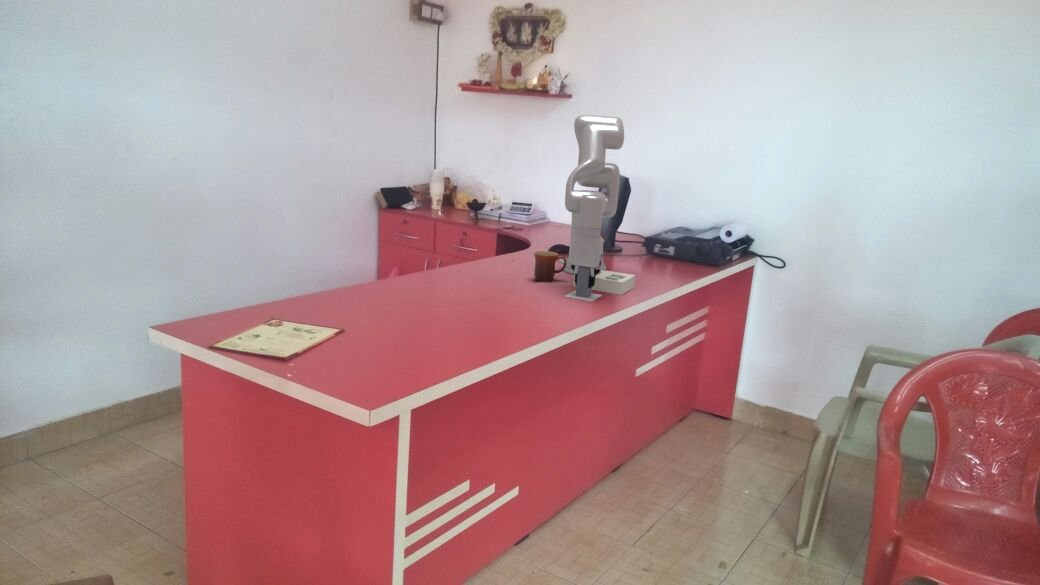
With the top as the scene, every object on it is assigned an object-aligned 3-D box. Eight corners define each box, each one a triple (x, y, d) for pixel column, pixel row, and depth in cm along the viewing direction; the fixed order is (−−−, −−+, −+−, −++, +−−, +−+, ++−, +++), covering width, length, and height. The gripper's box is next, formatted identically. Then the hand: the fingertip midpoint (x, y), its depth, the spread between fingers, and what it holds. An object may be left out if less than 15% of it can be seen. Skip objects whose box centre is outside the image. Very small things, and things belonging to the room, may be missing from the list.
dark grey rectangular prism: (575, 295, 239) (578, 266, 236) (580, 293, 242) (582, 264, 239) (586, 297, 237) (589, 268, 234) (591, 295, 240) (593, 266, 238)
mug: (530, 282, 255) (532, 254, 253) (532, 277, 264) (534, 250, 261) (564, 285, 254) (566, 257, 252) (565, 280, 263) (567, 252, 260)
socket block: (572, 287, 252) (574, 271, 250) (587, 280, 264) (588, 265, 262) (621, 296, 244) (622, 280, 243) (633, 288, 256) (635, 273, 255)
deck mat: (563, 297, 237) (563, 296, 237) (575, 291, 246) (575, 290, 246) (591, 303, 233) (591, 301, 233) (602, 296, 242) (602, 295, 242)
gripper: (561, 230, 234) (557, 284, 239) (609, 237, 227) (603, 292, 232) (570, 227, 241) (565, 280, 245) (616, 234, 234) (611, 288, 238)
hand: (584, 285), depth 239 cm, fingers closed on dark grey rectangular prism, 4 cm apart
